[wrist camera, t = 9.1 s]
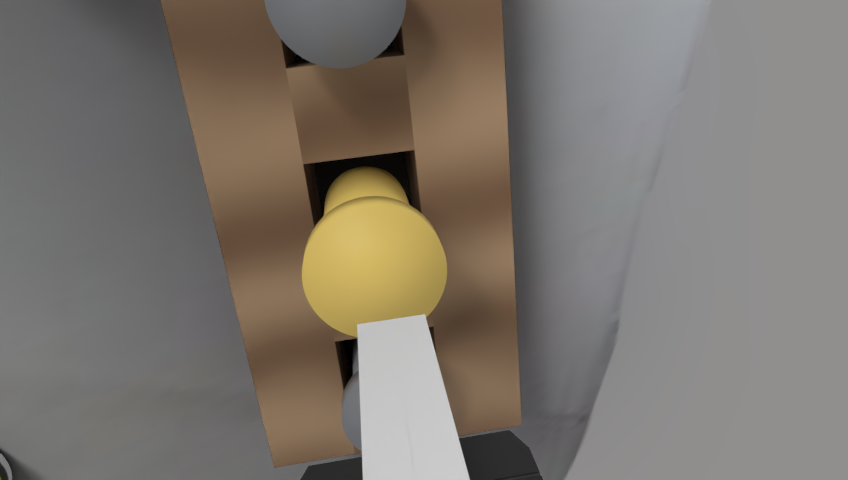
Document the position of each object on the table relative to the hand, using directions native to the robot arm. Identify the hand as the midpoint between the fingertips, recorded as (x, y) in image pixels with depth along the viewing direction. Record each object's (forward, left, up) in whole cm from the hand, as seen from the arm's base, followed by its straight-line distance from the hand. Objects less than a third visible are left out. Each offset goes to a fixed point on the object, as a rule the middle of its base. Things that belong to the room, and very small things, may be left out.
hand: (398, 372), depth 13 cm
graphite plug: (-8, 0, -16) cm, 18 cm away
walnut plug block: (0, 0, -17) cm, 17 cm away
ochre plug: (0, 0, -12) cm, 12 cm away
